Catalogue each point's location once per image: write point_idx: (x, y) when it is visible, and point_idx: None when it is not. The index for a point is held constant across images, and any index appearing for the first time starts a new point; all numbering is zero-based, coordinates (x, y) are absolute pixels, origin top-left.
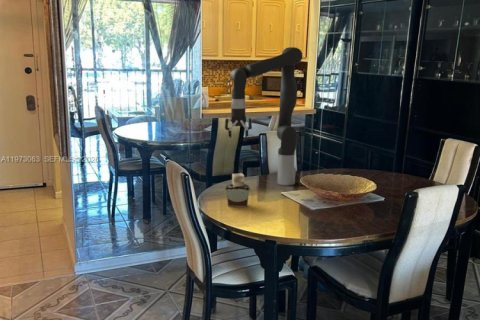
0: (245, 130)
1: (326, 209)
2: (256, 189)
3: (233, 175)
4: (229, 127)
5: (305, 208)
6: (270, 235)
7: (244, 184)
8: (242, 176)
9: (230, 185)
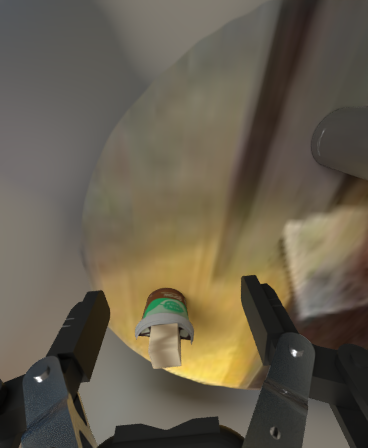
0: (264, 346)
1: (325, 318)
2: (226, 198)
3: (152, 362)
4: (33, 409)
5: (291, 314)
6: (203, 383)
7: (182, 327)
8: (176, 365)
9: (147, 325)
